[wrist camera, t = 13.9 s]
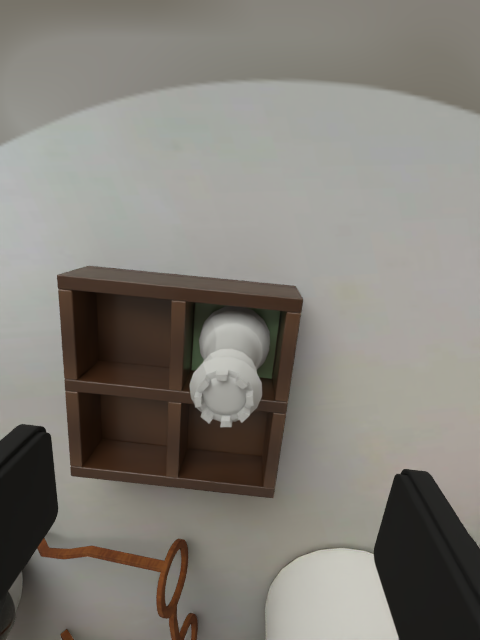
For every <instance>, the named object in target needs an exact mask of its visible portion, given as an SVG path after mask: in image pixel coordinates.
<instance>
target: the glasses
mask: <svg viewBox="0 0 480 640" xmlns="http://www.w3.org/2000/svg"><path fill="white" fill-rule="evenodd" d="M37 549H38V551H39V553H40V555H41V556H42V557H50V558H57V559H70V558H79V557H87V556H88V557H93V558H98V559H102V560H107V561H111V562H116V563H121V564H125V565H130V566H134V567H139V568H143V569H148V570H153V571H157V572H161V573H160V577H159V581H158V587H157V597H156V598H157V611H158V614H159V616H160V617H162V618H166V619H167V618H169V626H170V632H171V638H172V640H184V638H185V635H186V633H187V630H188V628H189V626H190V624H191V628H192V635H191V640H197V631H198V623H197V617H196V615H195V614H193V613H189V614H188V615H187V617H186V619H185V621H184V623H183V626H182V628H181V631H180V633H179V628H178V622H177V604H178V601H179V598H180V595H181V592H182V589H183V586H184V582H185V578H186V573H187V567H188V547H187V543H186V541H185V540H183V539H177V540H176V541H175V542H174V543H173V544H172V546H171V548H170V549H169V551H168V554H167V556H166V558H165V561H163V560H158V559H153V558H148V557H143V556H139V555H134V554H129V553H124V552H119V551H115V550H110V549H105V548H100V547H95V546H87V547H80V548H73V549H59V548H49V547H48V545H47V543H46V541H45V539H44V538H43V540H42V541H41V543H40V544H39V546H38V547H37ZM179 549H180V551H181V571H180V576H179V580H178V584H177V587H176V590H175V592H174V595H173V597H172V600H171V602H170V603H169V605H168V606H167V607H166V603H165V586H166V580H167V576H168V572H169V569H170V566H171V563H172V561H173V558H174V556H175V554H176V553H177V551H178V550H179ZM61 638H62V640H74V639H73V638H72V636H71V634H70V633H69V631H68V630H67V629H66V630H65V631H64V632H63V633H61Z"/></svg>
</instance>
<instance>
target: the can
mask: <svg viewBox="0 0 480 640" xmlns="http://www.w3.org/2000/svg"><path fill="white" fill-rule="evenodd" d="M265 619H266V640H399V638H398V634H397V631H396V628H395V625H394V622H393V619H392V616H391V613H390V609H389V606H388V603H387V600H386V597H385V594H384V591H383V588H382V584H381V581H380V578H379V575H378V572H377V569H376V566H375V561H374V554H371V553H369V552H367V551H362V550H354V549H347V548H335V549H325V550H318V551H315V552H312V553H309V554H306V555H304V556H301V557H298V558H297V559H295V560H294V561H292V562H291V563H290V564H288V565H287V566H285V567H284V568H283V569H281V571H280V572H279V574H278V575H277V576H276V578H275V579H274V581H273V582H272V583H271V586H270V589H269V592H268V596H267V601H266V606H265Z"/></svg>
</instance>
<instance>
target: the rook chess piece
mask: <svg viewBox="0 0 480 640" xmlns="http://www.w3.org/2000/svg"><path fill="white" fill-rule="evenodd" d="M199 345H200V353H201V356H202V357H203V359H204V361H203V363H202V364H201V365H200V366H199V368H198V369H197V370H196V371H195V372H194V373H193V376H192V379H191V382H190V394H191V399H192V400H193V402H194V404H195V408H196V407H197V409H198V410H199V411H201V412H202V414H201V418H203V419H204V420H205V421H207V422H208V423H209V424H210V422H211V421H212V419H214V420H217V421H220V422H221V425H220V427H232V422H235V421H238V420H240V421H241V422H243V421H244V420H246V419H247V418H248V417H249V416H250V414H251V413H252V412H253V411H254V410H255V409H256V408H257V407H258V405H259V402H260V400H261V397H262V383H261V381H260V379H259V377H258V375H257V369H258V368H259V367H260V366H261V365H262V364H263V363H264V362H265V360H266V357H267V355H268V352H269V346H270V332H269V329H268V327H267V325H266V323H265V321H264V319H262V318H261V317H260V316H259V315H258V314H257V313H256V312H254V311H253V310H251V309H248V308H245V307H236V306H226V307H223V308H221V309H219V310H217V311H215V312H213V313H212V314H211V315H210V316H209V317H208V318H207V320H206V321H205V322H204V324H203V327H202V330H201V333H200V338H199Z"/></svg>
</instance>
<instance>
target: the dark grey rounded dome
mask: <svg viewBox="0 0 480 640" xmlns="http://www.w3.org/2000/svg"><path fill="white" fill-rule="evenodd" d="M22 584H23V577H22V571H21V573H20V574H19V576H18V577H17V579H16V580H15V582H14V583H13V585H12V586H11V588H10V589H9V591H8V592H7V594H6V595H5V597H4V598H3V599H2V601H1V602H0V640H6V638H7V636H8V635H9V633H10V631H11V629H12V627H13V625H14V622H15V616H16V610H17V607H18V604H19V601H20V598H21V593H22Z"/></svg>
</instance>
